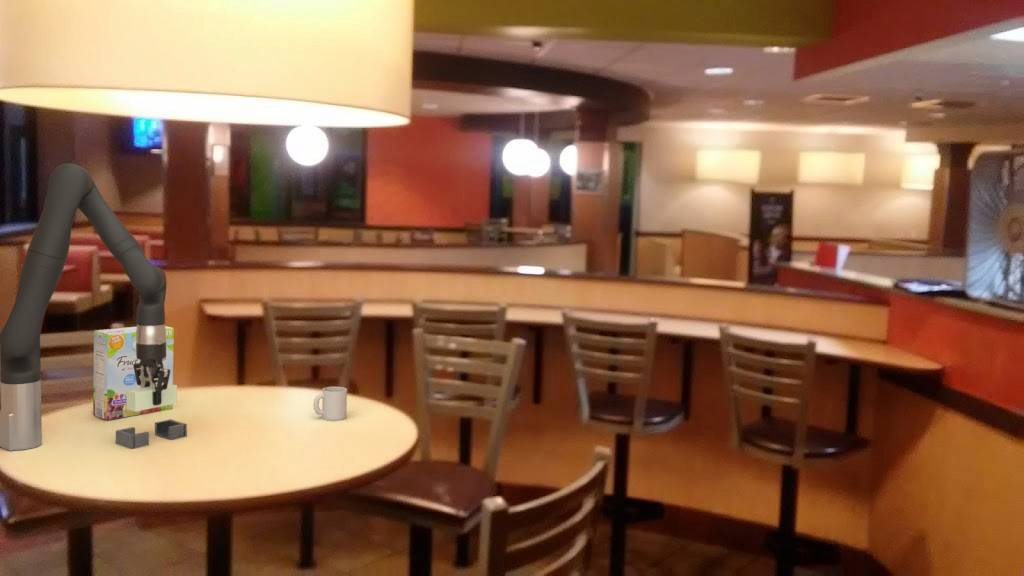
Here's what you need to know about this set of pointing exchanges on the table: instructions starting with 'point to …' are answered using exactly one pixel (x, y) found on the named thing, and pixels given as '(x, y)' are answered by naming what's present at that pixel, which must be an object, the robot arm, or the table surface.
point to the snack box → (121, 371)
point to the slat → (150, 398)
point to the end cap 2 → (170, 429)
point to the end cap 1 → (131, 438)
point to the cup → (332, 403)
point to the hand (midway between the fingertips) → (152, 403)
